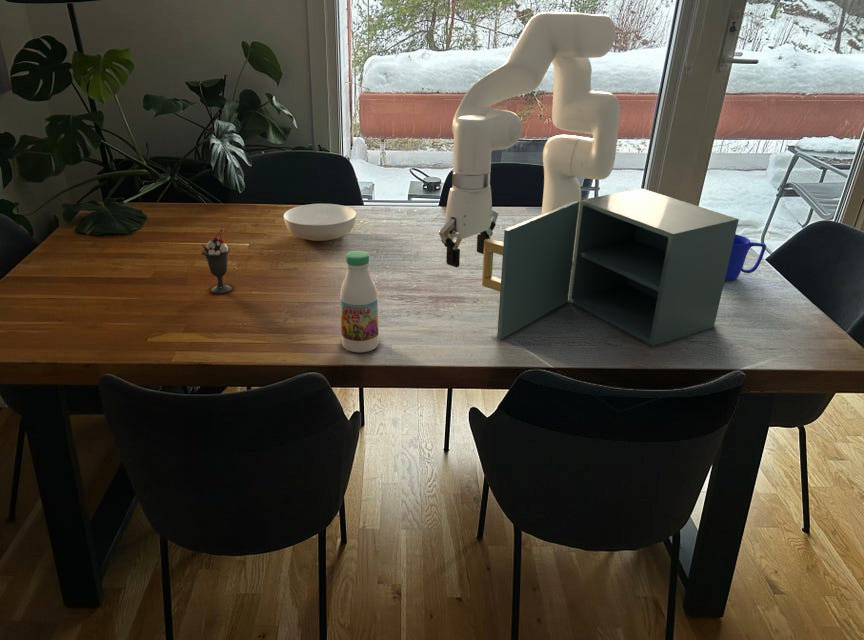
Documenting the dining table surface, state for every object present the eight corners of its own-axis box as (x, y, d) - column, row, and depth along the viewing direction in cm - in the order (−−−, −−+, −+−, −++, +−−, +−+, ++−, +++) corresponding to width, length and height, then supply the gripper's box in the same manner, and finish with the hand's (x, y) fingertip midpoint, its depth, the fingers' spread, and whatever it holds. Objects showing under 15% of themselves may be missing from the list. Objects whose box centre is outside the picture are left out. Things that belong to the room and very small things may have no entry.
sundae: (240, 286, 178) (233, 228, 171) (224, 296, 173) (216, 237, 165) (218, 282, 180) (210, 225, 173) (202, 292, 175) (193, 233, 168)
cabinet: (652, 346, 147) (673, 234, 136) (568, 301, 167) (580, 199, 156) (714, 327, 154) (738, 219, 143) (626, 286, 175) (641, 188, 163)
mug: (761, 285, 173) (771, 246, 169) (708, 282, 176) (717, 243, 171) (753, 273, 180) (762, 235, 176) (702, 270, 183) (710, 232, 178)
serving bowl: (355, 248, 201) (354, 224, 197) (280, 249, 201) (278, 225, 198) (358, 224, 219) (358, 202, 216) (290, 225, 219) (288, 203, 216)
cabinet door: (470, 327, 156) (475, 222, 144) (538, 292, 172) (547, 194, 160) (500, 339, 151) (508, 230, 139) (567, 301, 167) (579, 201, 155)
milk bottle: (341, 337, 153) (337, 248, 143) (377, 335, 153) (375, 246, 144) (342, 354, 146) (338, 262, 137) (380, 352, 147) (378, 260, 137)
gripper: (484, 168, 153) (481, 245, 161) (428, 185, 143) (427, 265, 151) (512, 175, 148) (507, 253, 156) (456, 192, 138) (453, 275, 146)
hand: (468, 259), depth 154 cm, fingers open, 9 cm apart
